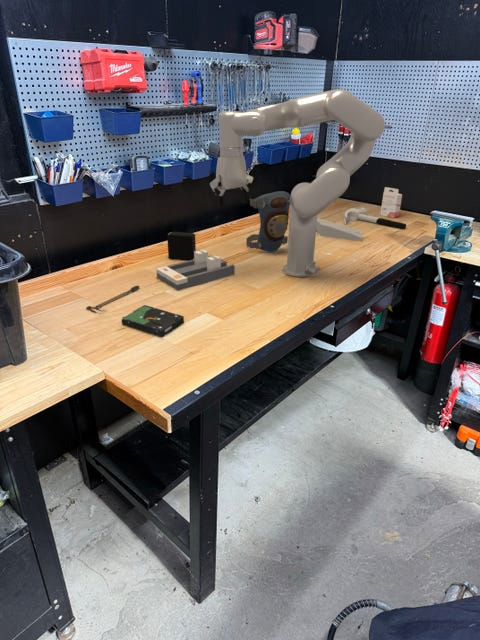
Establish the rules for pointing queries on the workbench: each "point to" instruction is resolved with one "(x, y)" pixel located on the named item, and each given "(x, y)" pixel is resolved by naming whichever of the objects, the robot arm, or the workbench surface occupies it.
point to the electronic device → (181, 246)
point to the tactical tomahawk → (112, 299)
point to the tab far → (200, 256)
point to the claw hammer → (370, 218)
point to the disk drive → (153, 320)
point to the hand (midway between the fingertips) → (232, 204)
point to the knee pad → (271, 221)
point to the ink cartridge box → (391, 203)
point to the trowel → (337, 230)
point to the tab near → (213, 262)
